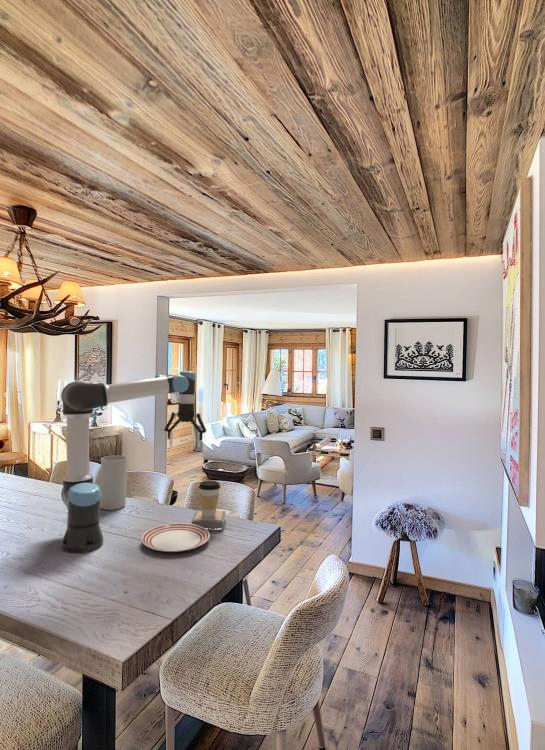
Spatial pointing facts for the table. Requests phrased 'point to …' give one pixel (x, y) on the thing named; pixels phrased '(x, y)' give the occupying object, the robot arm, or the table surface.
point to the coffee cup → (209, 497)
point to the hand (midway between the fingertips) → (184, 446)
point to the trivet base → (209, 520)
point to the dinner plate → (175, 537)
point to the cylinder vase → (113, 482)
